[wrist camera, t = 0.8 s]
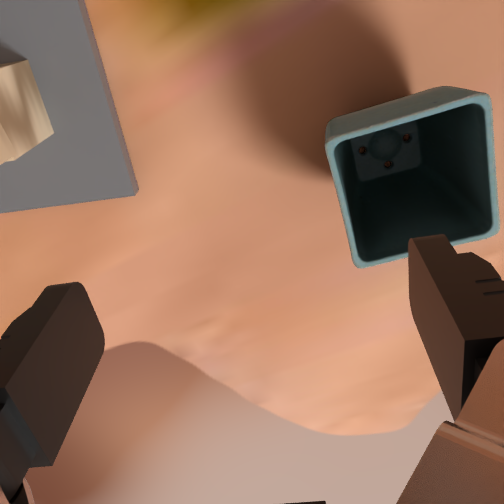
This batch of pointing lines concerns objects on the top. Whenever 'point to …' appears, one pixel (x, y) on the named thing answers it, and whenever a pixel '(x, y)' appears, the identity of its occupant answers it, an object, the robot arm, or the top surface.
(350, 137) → the flower pot
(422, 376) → the top surface
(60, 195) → the slate board
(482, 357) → the robot arm
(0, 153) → the tower top block
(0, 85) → the tower base block
